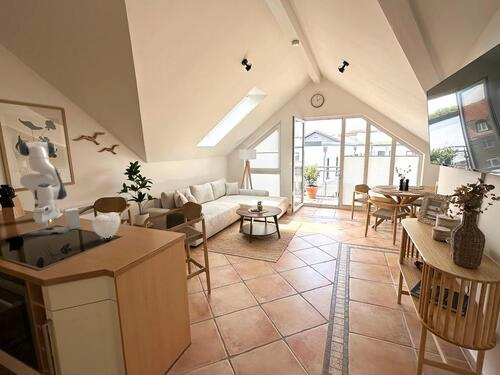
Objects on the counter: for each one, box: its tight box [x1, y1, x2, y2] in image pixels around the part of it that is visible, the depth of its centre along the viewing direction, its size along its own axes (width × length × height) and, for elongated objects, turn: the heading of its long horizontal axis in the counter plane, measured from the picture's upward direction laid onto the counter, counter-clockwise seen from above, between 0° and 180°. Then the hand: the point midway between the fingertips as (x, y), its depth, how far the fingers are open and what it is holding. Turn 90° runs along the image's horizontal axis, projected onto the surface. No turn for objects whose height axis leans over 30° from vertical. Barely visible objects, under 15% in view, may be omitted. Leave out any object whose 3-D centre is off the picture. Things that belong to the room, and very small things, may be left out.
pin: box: [46, 219, 53, 230], centre depth 173 cm, size 3×3×9 cm
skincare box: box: [64, 207, 81, 231], centre depth 183 cm, size 8×6×15 cm
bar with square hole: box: [28, 226, 70, 236], centre depth 173 cm, size 7×22×3 cm, turn 99°
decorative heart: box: [91, 211, 121, 240], centre depth 161 cm, size 18×11×17 cm, turn 157°
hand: (49, 225), depth 173 cm, fingers closed on pin, 3 cm apart
